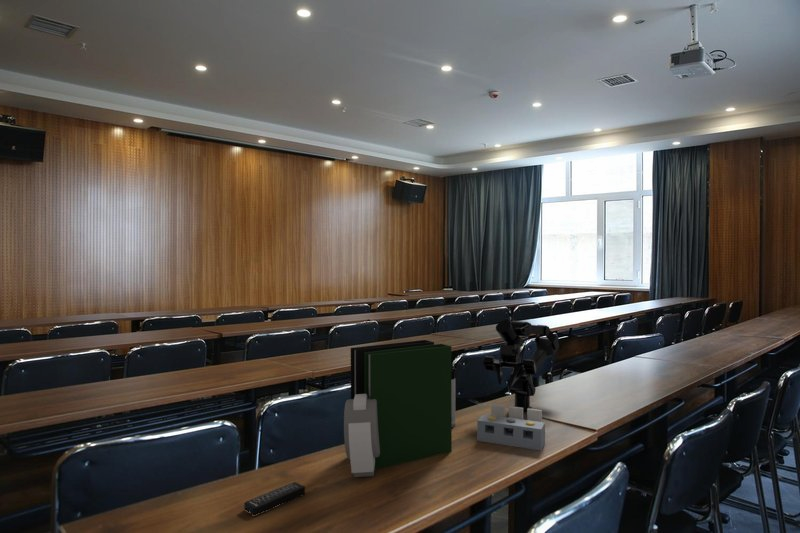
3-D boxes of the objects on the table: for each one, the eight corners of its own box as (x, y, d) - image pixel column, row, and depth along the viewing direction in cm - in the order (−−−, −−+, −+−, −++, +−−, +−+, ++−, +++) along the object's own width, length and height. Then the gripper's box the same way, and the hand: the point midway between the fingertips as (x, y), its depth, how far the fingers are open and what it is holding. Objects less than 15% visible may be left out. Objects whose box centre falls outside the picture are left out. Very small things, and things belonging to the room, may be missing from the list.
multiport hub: (305, 495, 123) (305, 486, 123) (254, 518, 112) (254, 508, 112) (294, 490, 126) (294, 481, 126) (243, 512, 115) (243, 502, 115)
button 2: (509, 424, 166) (509, 406, 166) (523, 425, 164) (523, 407, 164) (504, 430, 160) (504, 412, 160) (518, 432, 158) (518, 414, 158)
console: (483, 433, 166) (483, 413, 166) (545, 443, 157) (545, 421, 157) (477, 440, 159) (477, 419, 159) (541, 450, 151) (541, 428, 151)
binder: (372, 471, 136) (371, 355, 136) (348, 453, 149) (348, 347, 149) (451, 451, 150) (451, 346, 150) (424, 437, 163) (423, 339, 163)
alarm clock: (353, 454, 147) (348, 387, 146) (382, 453, 147) (377, 385, 146) (346, 484, 129) (341, 407, 128) (379, 482, 129) (374, 405, 128)
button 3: (527, 426, 164) (527, 408, 164) (541, 428, 162) (541, 410, 162) (523, 433, 157) (523, 414, 157) (537, 435, 155) (537, 416, 155)
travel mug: (455, 428, 171) (455, 370, 171) (436, 427, 172) (436, 369, 172) (457, 423, 177) (457, 366, 177) (438, 421, 178) (438, 366, 178)
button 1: (492, 421, 169) (492, 404, 169) (505, 423, 167) (505, 405, 167) (486, 428, 162) (486, 409, 162) (499, 430, 160) (499, 411, 160)
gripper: (483, 334, 185) (474, 370, 175) (534, 337, 177) (528, 375, 167) (489, 352, 192) (481, 387, 182) (538, 355, 184) (533, 392, 174)
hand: (505, 385), depth 176 cm, fingers open, 4 cm apart
